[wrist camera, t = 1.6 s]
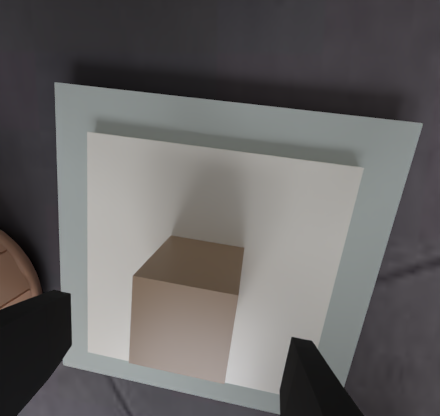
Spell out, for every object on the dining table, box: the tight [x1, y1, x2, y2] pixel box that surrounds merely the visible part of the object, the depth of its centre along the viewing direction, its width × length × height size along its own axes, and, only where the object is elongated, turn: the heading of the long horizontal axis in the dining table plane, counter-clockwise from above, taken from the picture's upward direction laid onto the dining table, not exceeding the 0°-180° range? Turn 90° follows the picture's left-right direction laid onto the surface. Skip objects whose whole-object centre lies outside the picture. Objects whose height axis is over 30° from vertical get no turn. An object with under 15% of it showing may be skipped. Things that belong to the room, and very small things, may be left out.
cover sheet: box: [87, 132, 364, 395], centre depth 11 cm, size 12×12×5 cm
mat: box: [55, 82, 423, 414], centre depth 14 cm, size 16×16×1 cm
